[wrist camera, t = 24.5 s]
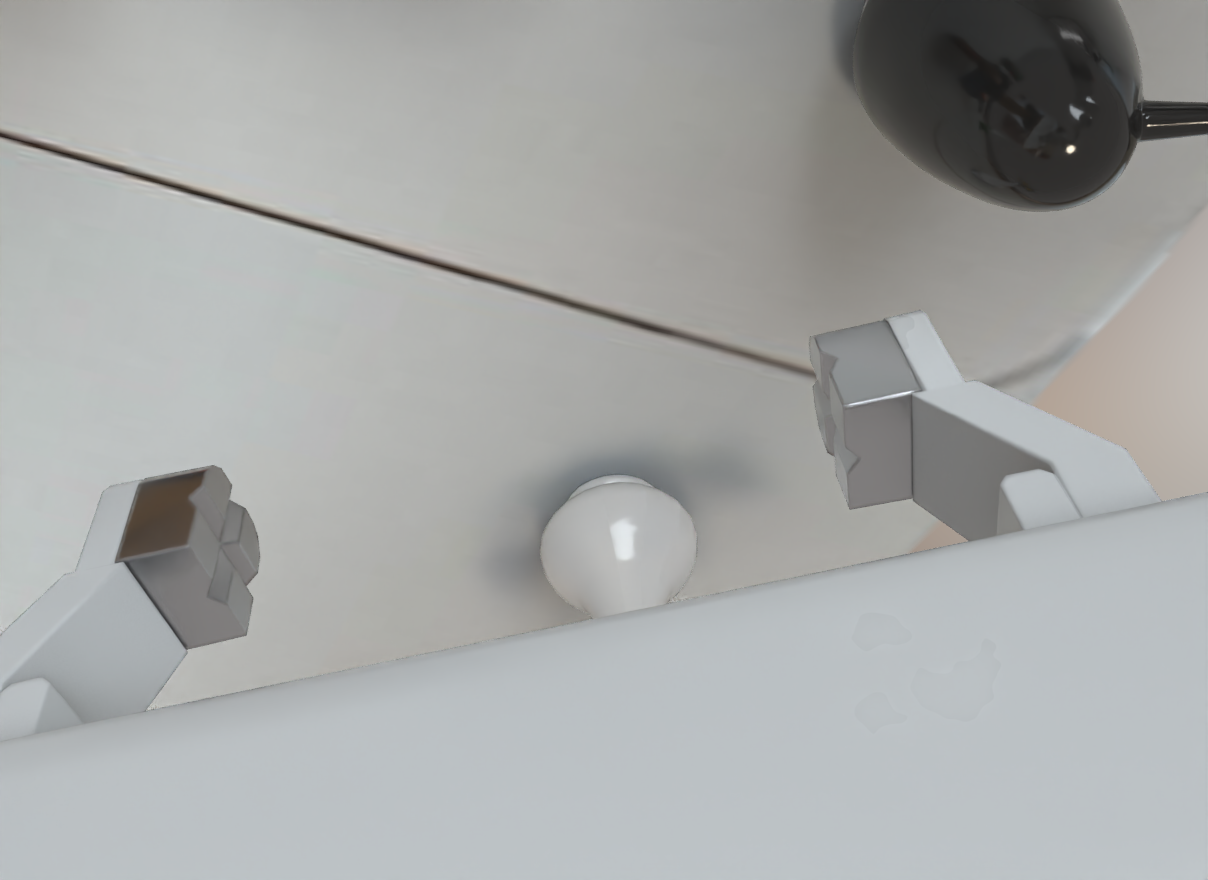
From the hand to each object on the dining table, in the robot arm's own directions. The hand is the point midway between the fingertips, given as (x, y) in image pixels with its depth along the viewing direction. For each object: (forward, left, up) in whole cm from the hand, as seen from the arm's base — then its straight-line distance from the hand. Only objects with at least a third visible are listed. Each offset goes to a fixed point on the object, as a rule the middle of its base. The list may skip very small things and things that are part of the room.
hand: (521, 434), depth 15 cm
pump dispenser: (-16, +15, -37) cm, 43 cm away
